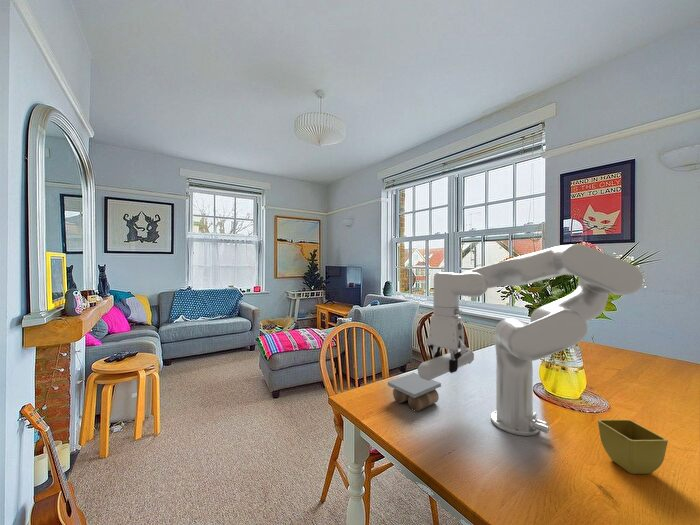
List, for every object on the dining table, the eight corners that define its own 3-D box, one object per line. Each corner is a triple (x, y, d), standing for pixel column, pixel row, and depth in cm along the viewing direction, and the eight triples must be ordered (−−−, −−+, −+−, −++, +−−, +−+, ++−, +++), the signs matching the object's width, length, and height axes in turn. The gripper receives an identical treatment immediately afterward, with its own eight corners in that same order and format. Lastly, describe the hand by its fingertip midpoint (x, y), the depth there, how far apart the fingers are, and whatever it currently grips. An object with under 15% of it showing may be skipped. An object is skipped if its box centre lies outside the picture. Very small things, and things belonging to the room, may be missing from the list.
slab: (440, 386, 100) (440, 383, 100) (414, 398, 91) (414, 394, 91) (413, 375, 110) (413, 372, 110) (387, 385, 101) (387, 381, 101)
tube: (431, 370, 80) (476, 352, 96) (416, 359, 84) (462, 344, 100) (426, 386, 81) (471, 366, 97) (412, 375, 85) (457, 357, 101)
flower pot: (630, 454, 73) (629, 418, 73) (669, 480, 64) (669, 440, 64) (596, 454, 73) (596, 419, 73) (631, 481, 64) (631, 440, 64)
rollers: (438, 404, 98) (438, 390, 98) (419, 414, 92) (419, 398, 92) (411, 392, 108) (411, 378, 108) (392, 399, 102) (392, 385, 102)
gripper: (477, 314, 86) (477, 374, 86) (430, 307, 99) (430, 359, 99) (464, 317, 81) (464, 381, 81) (416, 309, 95) (416, 364, 95)
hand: (445, 368), depth 90 cm, fingers closed on tube, 4 cm apart
